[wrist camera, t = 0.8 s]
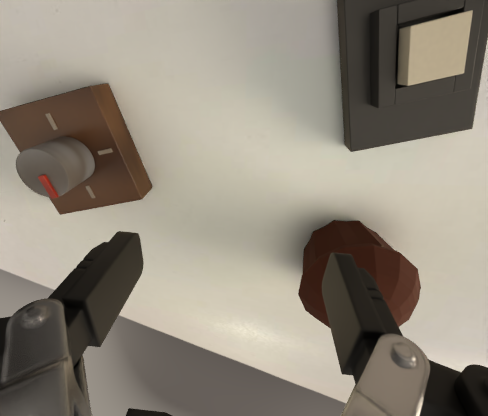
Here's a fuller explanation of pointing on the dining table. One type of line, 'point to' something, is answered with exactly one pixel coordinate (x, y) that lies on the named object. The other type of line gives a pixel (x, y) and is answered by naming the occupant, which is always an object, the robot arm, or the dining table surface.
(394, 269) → the muffin
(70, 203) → the panel
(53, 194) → the volume knob
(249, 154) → the dining table surface
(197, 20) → the dining table surface
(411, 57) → the key
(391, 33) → the tiered pedestal stack
